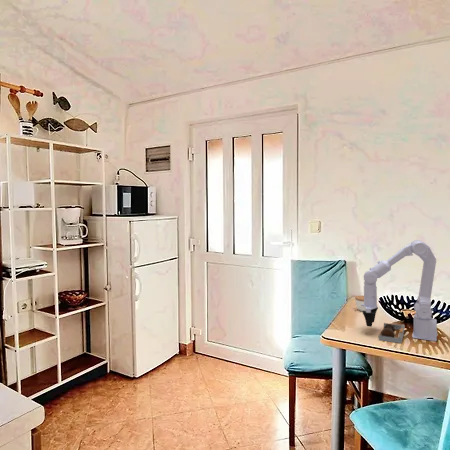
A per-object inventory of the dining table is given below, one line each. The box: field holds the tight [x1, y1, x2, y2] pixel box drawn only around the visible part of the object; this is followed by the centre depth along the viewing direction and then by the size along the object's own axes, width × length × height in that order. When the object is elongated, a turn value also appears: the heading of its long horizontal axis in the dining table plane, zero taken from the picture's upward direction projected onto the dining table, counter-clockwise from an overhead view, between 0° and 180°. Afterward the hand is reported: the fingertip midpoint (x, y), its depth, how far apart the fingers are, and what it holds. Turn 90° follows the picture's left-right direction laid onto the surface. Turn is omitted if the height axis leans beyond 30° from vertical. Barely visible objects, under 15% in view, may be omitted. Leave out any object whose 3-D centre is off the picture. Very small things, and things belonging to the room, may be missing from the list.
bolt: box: [380, 323, 396, 337], centre depth 167 cm, size 6×5×15 cm
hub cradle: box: [378, 322, 405, 344], centre depth 168 cm, size 9×21×3 cm, turn 150°
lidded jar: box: [354, 295, 366, 312], centre depth 209 cm, size 11×11×9 cm
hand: (370, 324), depth 172 cm, fingers open, 7 cm apart
